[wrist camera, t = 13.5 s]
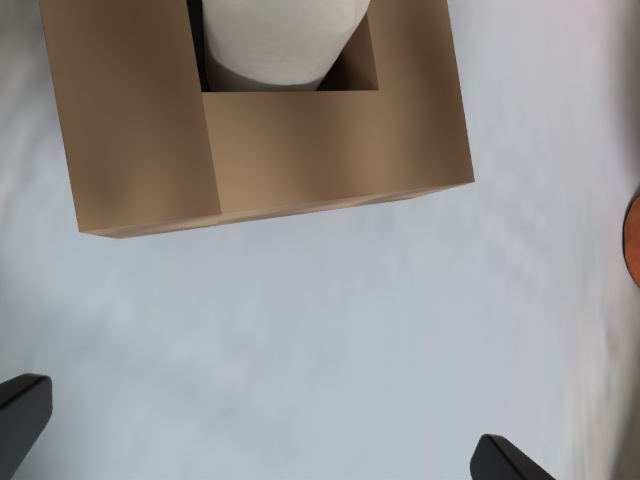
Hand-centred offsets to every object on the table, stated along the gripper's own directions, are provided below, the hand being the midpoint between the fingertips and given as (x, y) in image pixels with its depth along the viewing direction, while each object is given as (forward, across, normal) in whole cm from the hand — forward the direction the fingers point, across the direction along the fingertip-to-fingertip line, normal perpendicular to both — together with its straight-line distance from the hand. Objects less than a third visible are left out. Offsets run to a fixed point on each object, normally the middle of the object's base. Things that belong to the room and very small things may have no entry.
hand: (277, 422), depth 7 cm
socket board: (+13, +3, -8) cm, 16 cm away
